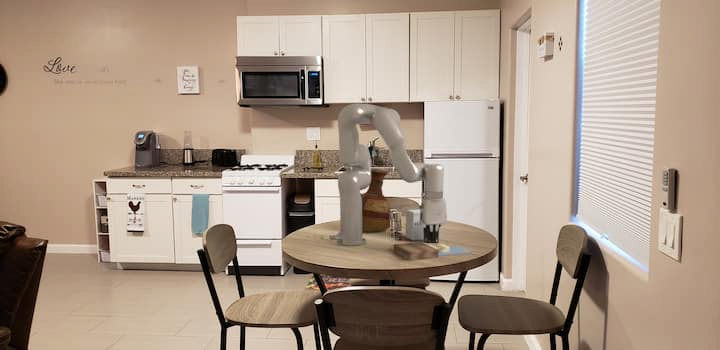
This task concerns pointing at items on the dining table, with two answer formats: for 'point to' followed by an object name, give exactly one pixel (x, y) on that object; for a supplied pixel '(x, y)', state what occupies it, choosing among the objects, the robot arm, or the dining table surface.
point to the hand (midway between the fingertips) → (432, 240)
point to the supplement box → (413, 225)
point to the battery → (425, 236)
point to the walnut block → (415, 251)
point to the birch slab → (441, 248)
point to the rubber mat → (454, 251)
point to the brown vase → (375, 204)
